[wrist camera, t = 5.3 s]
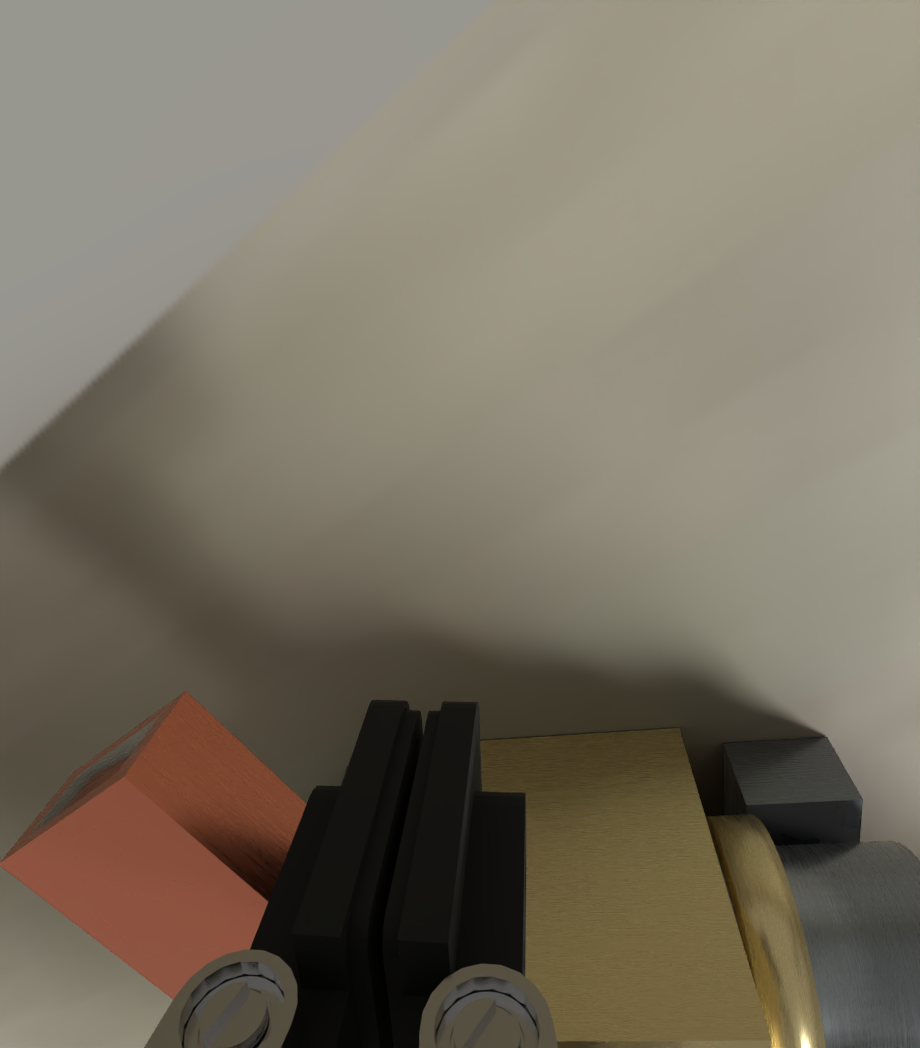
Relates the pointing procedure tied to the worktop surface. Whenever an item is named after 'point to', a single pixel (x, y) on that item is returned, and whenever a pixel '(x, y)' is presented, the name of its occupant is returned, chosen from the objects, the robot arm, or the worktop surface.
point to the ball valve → (710, 897)
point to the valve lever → (164, 844)
